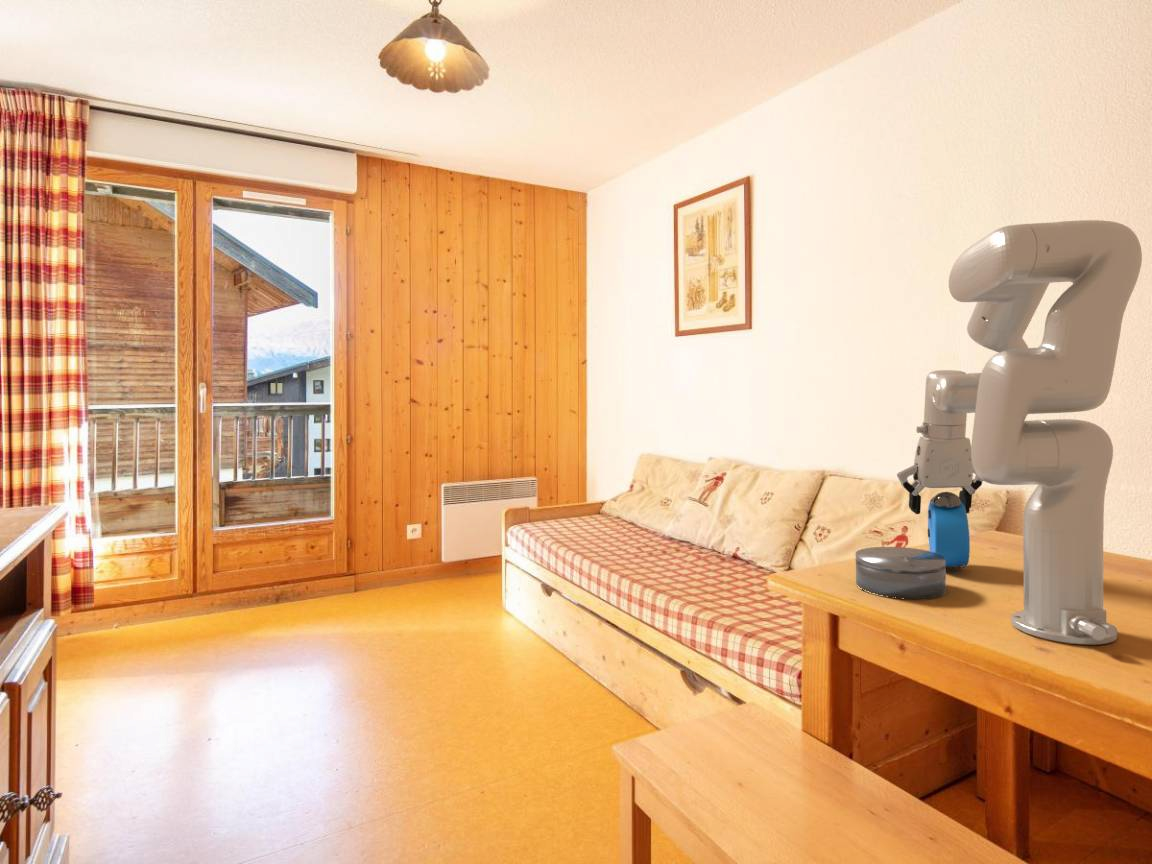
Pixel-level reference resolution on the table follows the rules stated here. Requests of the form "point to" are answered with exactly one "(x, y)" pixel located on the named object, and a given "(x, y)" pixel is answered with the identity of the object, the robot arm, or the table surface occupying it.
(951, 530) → the alarm clock
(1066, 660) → the table surface
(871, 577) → the round tin
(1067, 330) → the robot arm
